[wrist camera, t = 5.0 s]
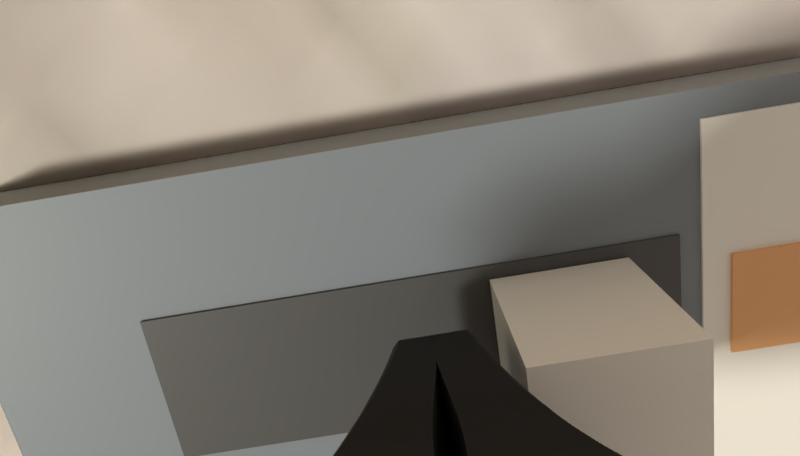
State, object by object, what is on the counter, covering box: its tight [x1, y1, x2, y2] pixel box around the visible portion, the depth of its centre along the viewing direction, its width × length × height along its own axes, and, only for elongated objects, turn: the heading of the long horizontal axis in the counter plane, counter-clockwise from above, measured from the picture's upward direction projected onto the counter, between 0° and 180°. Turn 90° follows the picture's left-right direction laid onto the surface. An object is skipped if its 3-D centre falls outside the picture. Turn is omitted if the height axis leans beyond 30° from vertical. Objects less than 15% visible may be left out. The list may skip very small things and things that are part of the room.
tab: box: [490, 257, 714, 456], centre depth 10 cm, size 2×2×3 cm
